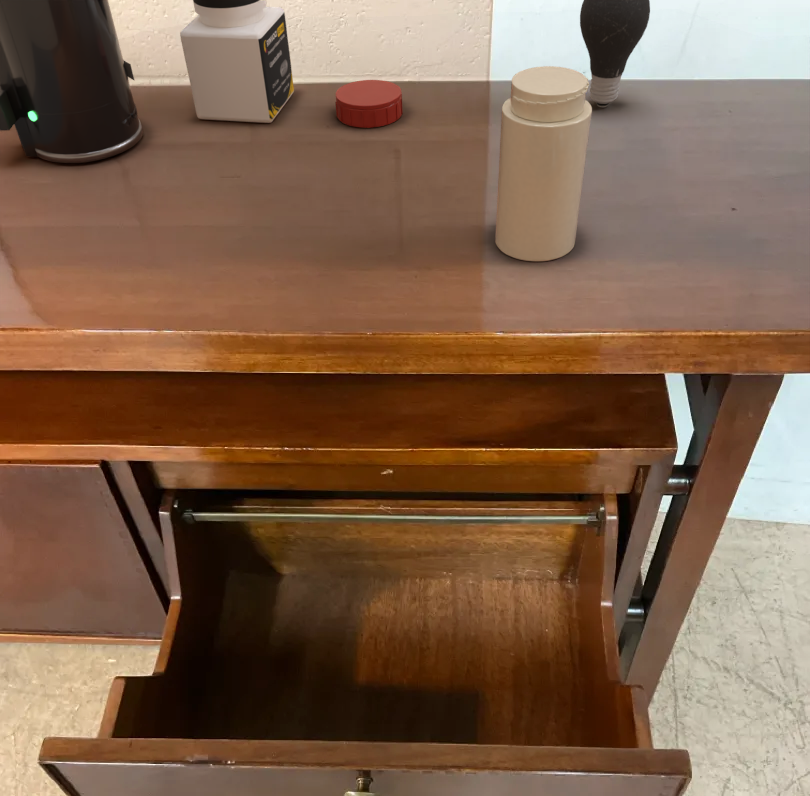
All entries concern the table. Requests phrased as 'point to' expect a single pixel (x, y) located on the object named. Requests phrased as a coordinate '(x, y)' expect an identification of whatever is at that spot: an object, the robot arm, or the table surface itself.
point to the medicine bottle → (238, 60)
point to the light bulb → (611, 41)
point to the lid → (369, 103)
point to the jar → (542, 163)
